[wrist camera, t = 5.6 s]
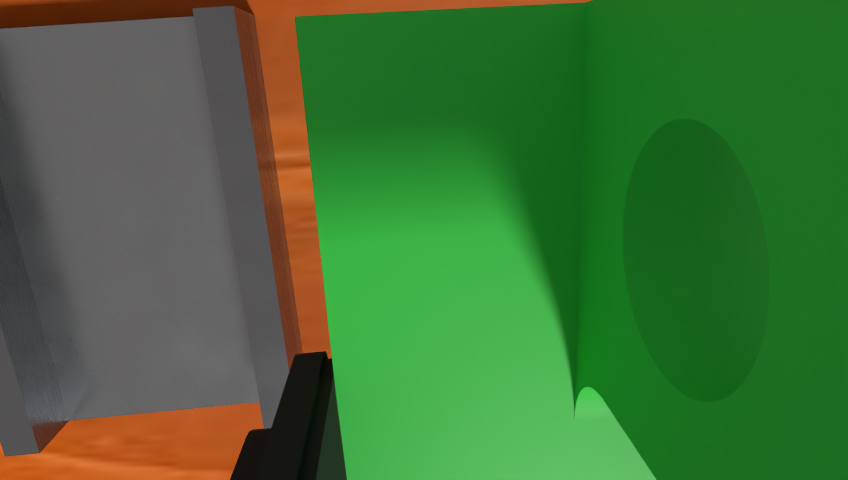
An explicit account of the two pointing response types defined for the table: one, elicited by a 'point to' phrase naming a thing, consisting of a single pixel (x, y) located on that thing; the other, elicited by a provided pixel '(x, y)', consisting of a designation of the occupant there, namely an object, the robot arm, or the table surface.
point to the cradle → (138, 224)
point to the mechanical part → (585, 238)
